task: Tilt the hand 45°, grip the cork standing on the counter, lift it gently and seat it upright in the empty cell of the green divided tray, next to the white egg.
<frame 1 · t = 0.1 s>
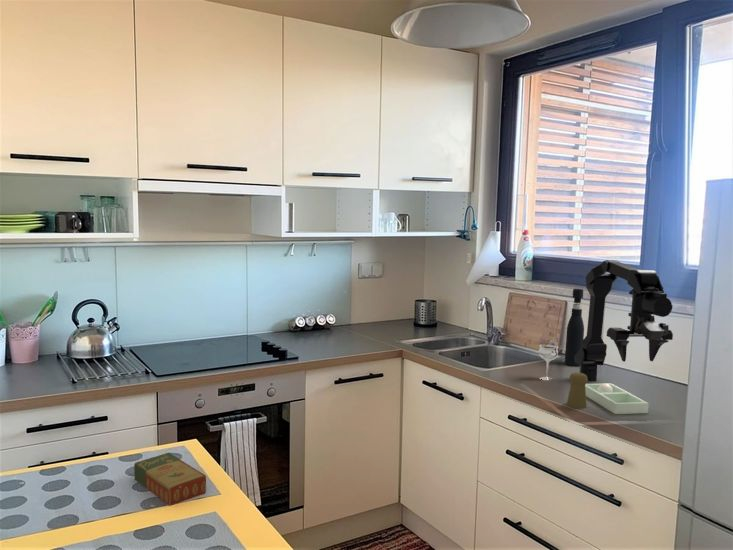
hand: (637, 361, 183), 15 cm above the worktop, tool pointing down, fingers open, 9 cm apart
cork: (576, 408, 182), on the worktop
egg: (604, 397, 190), point 1 cm above the worktop, touching green divided tray
green divided tray: (612, 405, 186), on the worktop
wine bottle: (573, 365, 235), on the worktop
carton: (169, 488, 125), on the worktop
wineglass: (546, 379, 213), on the worktop
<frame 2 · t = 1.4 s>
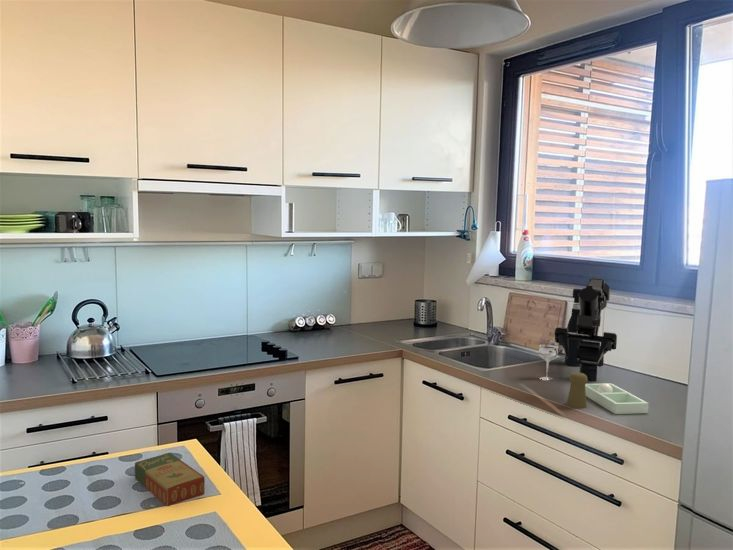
hand: (582, 360, 188), 13 cm above the worktop, tool tilted 45°, fingers open, 9 cm apart
nothing on the worktop moved.
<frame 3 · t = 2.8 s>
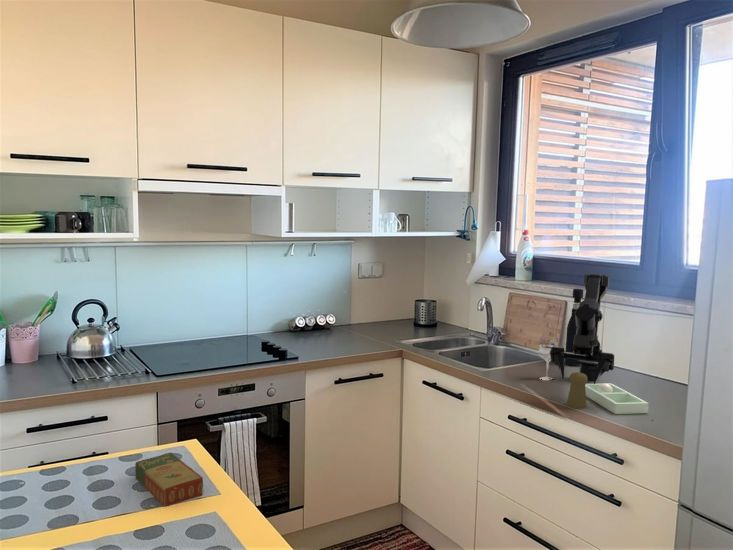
hand: (578, 381, 182), 8 cm above the worktop, tool tilted 45°, fingers open, 9 cm apart
nothing on the worktop moved.
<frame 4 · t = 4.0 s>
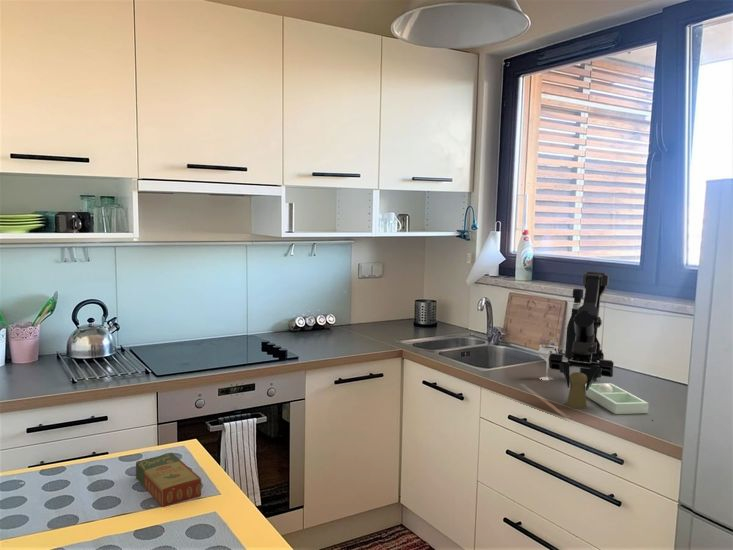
hand: (577, 388, 180), 7 cm above the worktop, tool tilted 45°, fingers closed on cork, 5 cm apart
cork: (576, 408, 182), on the worktop, touching gripper
everything else where it was.
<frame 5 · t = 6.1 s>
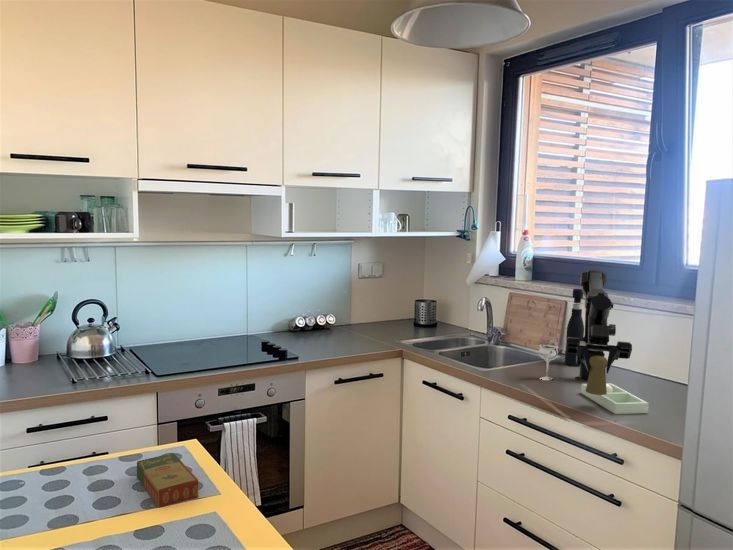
hand: (598, 371, 179), 12 cm above the worktop, tool tilted 45°, fingers closed on cork, 5 cm apart
cork: (596, 392, 181), point 5 cm above the worktop, touching gripper
when the fingers open (9 cm above the worktop, at t = 8.0 s): cork drops 1 cm, resting on green divided tray.
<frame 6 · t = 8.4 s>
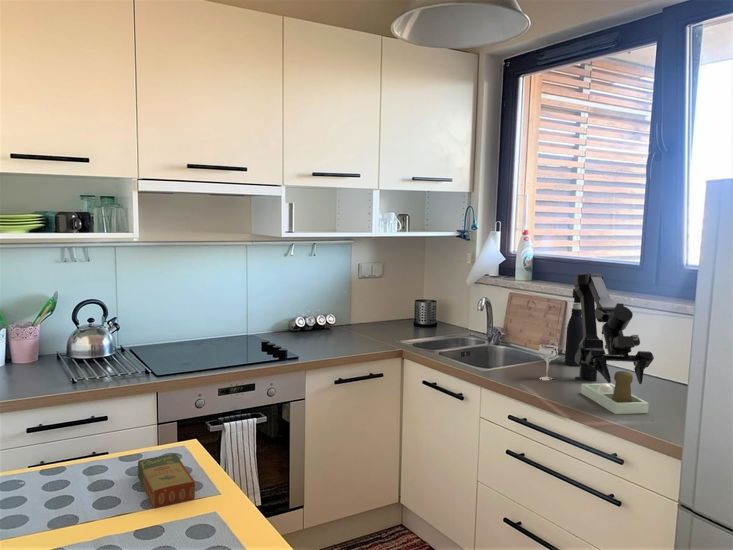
hand: (625, 383, 179), 9 cm above the worktop, tool tilted 45°, fingers open, 9 cm apart
cork: (621, 407, 181), point 1 cm above the worktop, touching green divided tray
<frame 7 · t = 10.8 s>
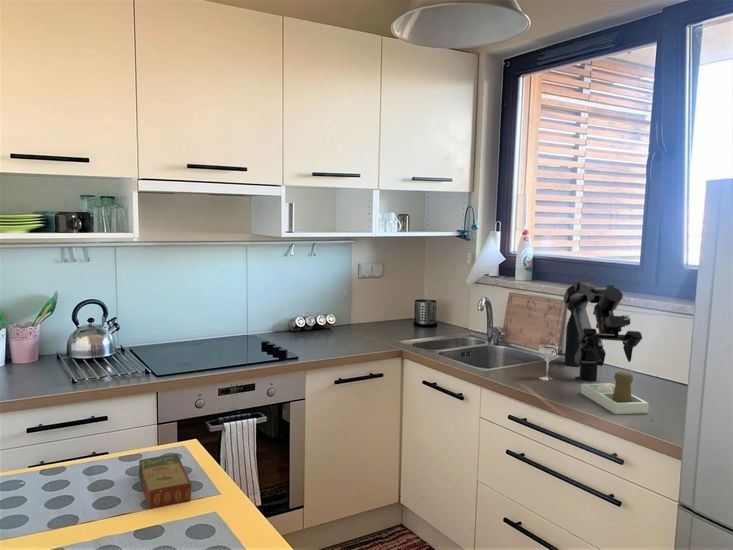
hand: (615, 360, 188), 14 cm above the worktop, tool tilted 45°, fingers open, 9 cm apart
wine bottle: (573, 364, 235), on the worktop, touching arm
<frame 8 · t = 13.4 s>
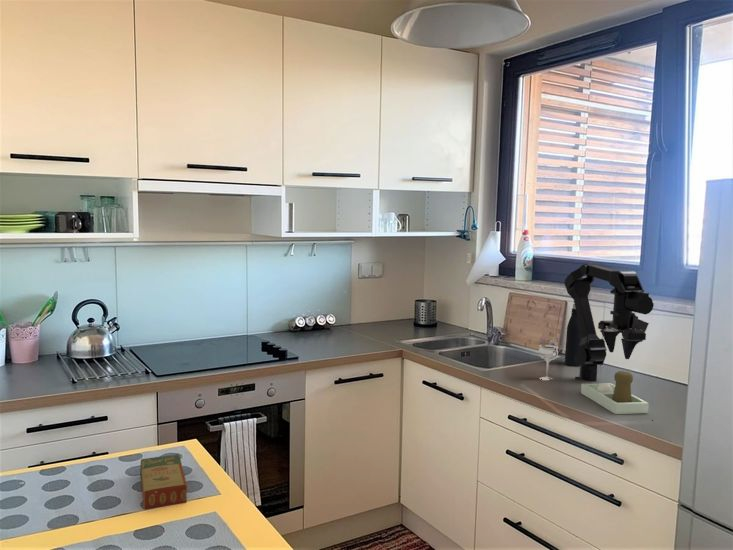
hand: (619, 355, 197), 13 cm above the worktop, tool pointing down, fingers open, 9 cm apart
wine bottle: (573, 365, 235), on the worktop
at the end: cork 0.2 cm from the target spot on the green divided tray, point 0.8 cm above the green divided tray's base; cork tilted 0°; the gripper is holding nothing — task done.
